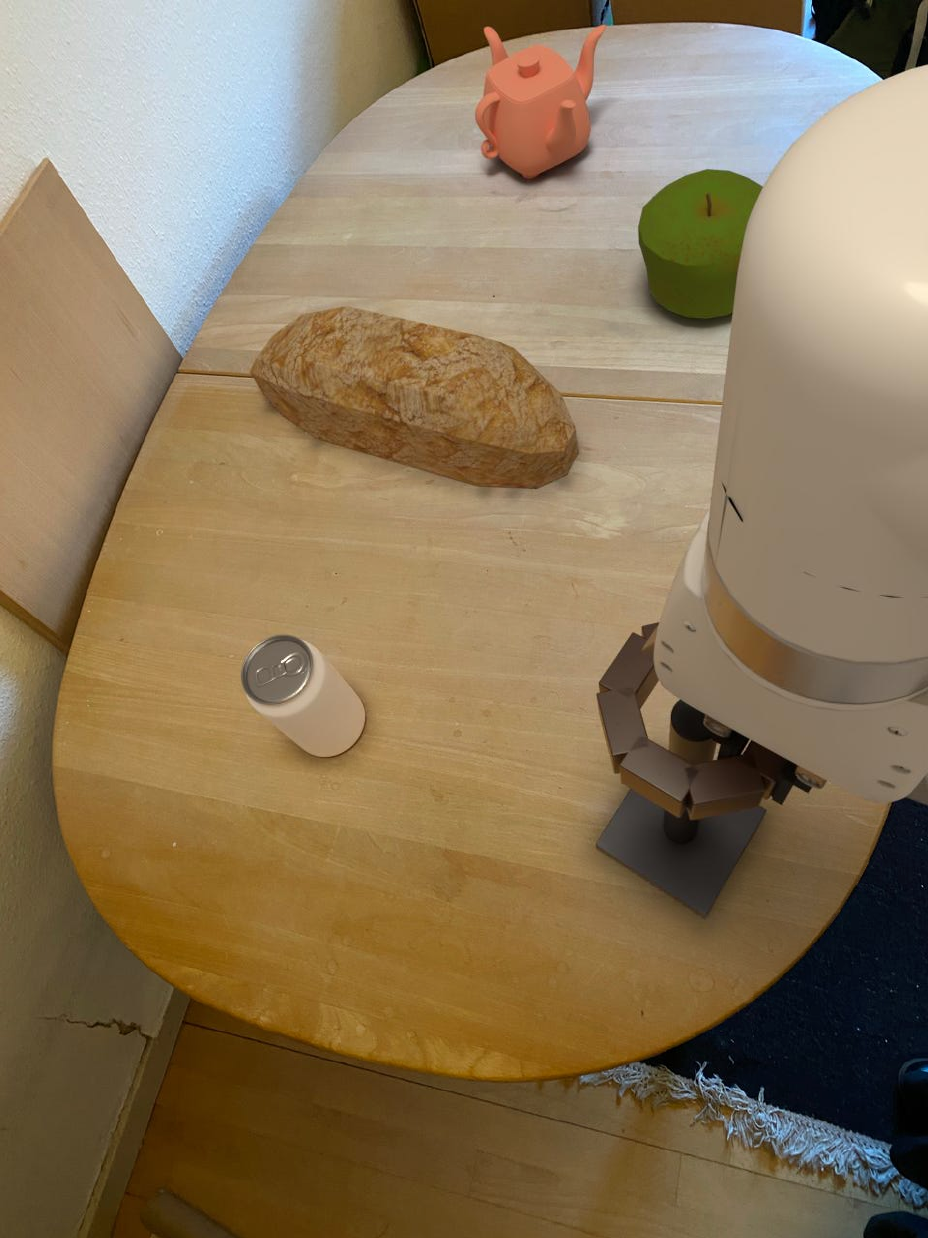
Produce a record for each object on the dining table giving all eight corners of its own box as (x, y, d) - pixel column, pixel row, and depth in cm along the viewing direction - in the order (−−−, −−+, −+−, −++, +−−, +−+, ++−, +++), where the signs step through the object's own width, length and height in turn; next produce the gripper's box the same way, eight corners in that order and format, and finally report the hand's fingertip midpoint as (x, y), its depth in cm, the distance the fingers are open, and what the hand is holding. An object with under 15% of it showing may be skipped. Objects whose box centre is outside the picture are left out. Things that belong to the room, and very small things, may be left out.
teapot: (498, 113, 105) (483, 19, 95) (610, 113, 101) (606, 15, 91) (465, 191, 100) (445, 100, 90) (581, 195, 95) (574, 100, 86)
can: (374, 743, 70) (325, 692, 60) (303, 769, 70) (242, 722, 60) (357, 677, 73) (308, 617, 63) (289, 702, 74) (229, 646, 63)
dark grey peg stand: (765, 813, 62) (829, 688, 40) (704, 919, 59) (737, 849, 37) (657, 750, 65) (660, 604, 43) (596, 848, 63) (566, 745, 41)
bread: (595, 417, 81) (589, 342, 72) (550, 507, 77) (537, 439, 69) (297, 343, 94) (261, 272, 85) (246, 417, 90) (203, 350, 81)
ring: (828, 696, 40) (840, 672, 38) (736, 854, 38) (743, 840, 35) (662, 612, 44) (663, 585, 41) (569, 751, 42) (564, 732, 39)
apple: (630, 334, 85) (627, 241, 75) (651, 248, 89) (651, 150, 80) (759, 341, 81) (774, 244, 71) (773, 251, 86) (789, 149, 76)
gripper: (1220, 589, 21) (971, 784, 37) (658, 376, 27) (654, 621, 44) (1109, 840, 19) (897, 931, 35) (532, 548, 25) (577, 738, 42)
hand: (763, 758), depth 39 cm, fingers closed on ring, 2 cm apart
